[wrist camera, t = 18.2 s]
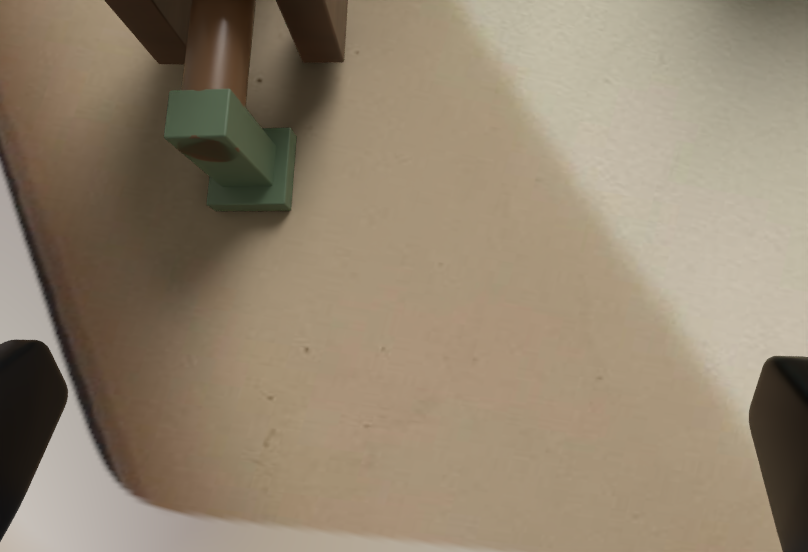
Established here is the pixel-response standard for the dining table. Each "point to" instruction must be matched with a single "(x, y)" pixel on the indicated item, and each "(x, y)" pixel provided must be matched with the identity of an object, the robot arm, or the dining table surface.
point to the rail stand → (228, 114)
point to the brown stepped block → (299, 4)
